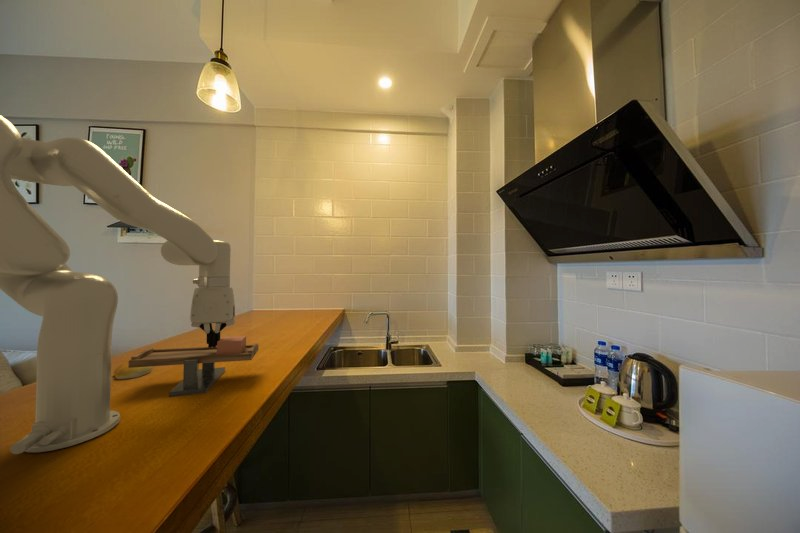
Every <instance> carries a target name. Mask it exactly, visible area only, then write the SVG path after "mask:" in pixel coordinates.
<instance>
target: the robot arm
mask: <svg viewBox="0 0 800 533" xmlns="http://www.w3.org/2000/svg"><path fill="white" fill-rule="evenodd" d="M13 180H17V181H22V182H30V183H36V184H43V185H44V184H45V185H52V186H60V187H74V188H76V189H77V190H78V191H80V192H81V193H82V194H83V195H85V196H86V197H87V198H89V199H90V200H91V201H92V202H94V203H95V204H96V205H98V206H99V207H100V208H101V209H103V210H104V211H105V212H107V213H108V214H109V215H111V216H112V217H113V218H115V219H116V220H118V222H122V223H124V224H126V225H128V226H132V227H133V228H134V227H135V228H138V229H141V230H145V231H147V232H151V233H153V234H155V235H157V236H160V237H161V238H163V239H165V240H166V241H165V242H163V243H162V245H161V247H160V254H161V257H163V259H164V260H165V261H166V262H168V263H169V264H172V265H175V266H176V265H177V266H198V277H197V278H194V279H192V284H194V285H195V284H196V285H197V287H195V288H194V291H193V295H192V299H191V307H190V317H189V318H190V319H189V320H190V322H191V324H190V325H191V327H193V328H200V329H201V330H203V332H204V333H205V334H206V345H207V347H208V348H210V347H216V346H217V341H219V340H220V339H221V331H222V330H223V329H225V328H226V327H230V326H234V325H235V324H236V319H235V317H236V306H235V294H234V290H233V287H232V286H230V285H231V250H232V249H231V244H230V242H227V241H223V240H217V239H216V240H215V239H213V238H212V237H211V236H210V235H209V234H208V233H207V232H206V231H205V230H204V229H203V228H202V227H201V226H200V225H199V224H197V222H196V221H194V220H193V219H191V218H190V217H189V216H187V215H186V214H184V213H182V212H181V211H179V210H177V209H175V208H173V207H171V206H170V205H168V204H167V203H165V202H163V201H161V200H159V199H157V198H156V197H154V196H153V194H151V193H150V192H149V191H148V190H147V189H145V188H144V187H143V186H142V185H141V184H140V183H139V182H138V181H137V180H136V179H134V178H133V177H132V176H131V175H130V174H129V173H128V172H127V171H126V170H125V169H124V168H123V167H122V166H120V164H119V163H117V162H116V161H115V159H113V158H112V157H111V156H110V155H108V154H107V153H106V152H105V151H104V150H103V149H102V148H100V147H99V146H98V145H96V144H94V143H93V142H91V141H89V140H86V139H84V138H79V137H62V138H57V139H53V140H50V141H48V142H47V141H42V140H41V141H40V140H35V139H30V138H26V137H23V136H21V133H20V132H19V131H18V128H17V127H16V126H15V125H14V124H13V123H12V122H11V121H10V120H9V119H7V118H6V117H4V116H3V115H2V114H0V290H1V291H2V292H3V293H4V294H6V295H7V296H8V297H10V298H11V300H13V301H14V302H16V303H17V304H18V305H19V306H21V307H22V308H24V310H26V311H28V312H30V313H32V314H35V315H37V316H40V317H42V321H41V325H40V328H39V333H38V337H37V338H38V339H37V346H36V379H35V380H36V384H35V385H36V387H35V416H34V418H35V420H34V422H35V423H33V424H31V431H30V432H29V433H28V434H26V435H24V437H23V438H22V439H20V440H19V441H17V442H15V443H14V444H12V445H11V446H10V448H9V452H10V453H11V454H13V455H20V454H22V453H24V452H25V453H36V454H37V453H45V452H50V451H51V452H53V451H55V450H62V449H64V448H69V447H73V446H75V445H78V444H81V443H83V442H87V441H90V440H92V439H94V438H96V437H99V436H101V435H103V434H105V433H107V432H108V431H111V430H112V429H113V428H114V427H115V426H117V425H118V424H119V423H120V421H121V414H120V412H119V411H117V410H111V390H112V388H111V386H112V385H111V384H112V379H111V378H112V354H113V353H112V350H113V349H112V347H113V345H112V343H113V341H112V340H113V339H112V338H113V328H114V321H115V317H116V312H117V308H118V304H119V296H118V291H117V289H116V287H115V285H114V283H112V282H111V281H110V280H108V279H107V278H105V277H103V276H101V275H97V274H96V273H90V272H80V271H79V272H77V271H76V272H75V271H74V270H73V269H72V268H71V267H69V265H67V262H68V261H69V259H70V256H71V250H70V248H69V245H68V243H67V242H66V240H65V239H64V238H63V237H62V236H61V235H60V234H59V233H58V232H56V230H55V229H54V228H52V226H50V224H49V223H48V222H47V221H46V220H45V219H44V218H43V217H42V216H41V215H40V214H39V212H37V210H36V209H35V208H34V207H32V206H31V205H30V203H29V202H28V201H27V199H25V197H24V196H23V195H22V194H21V192H20V191H19V190H18V188H17V187H16V186H15V184H14V182H13ZM213 324H215V327H213Z"/></svg>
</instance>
